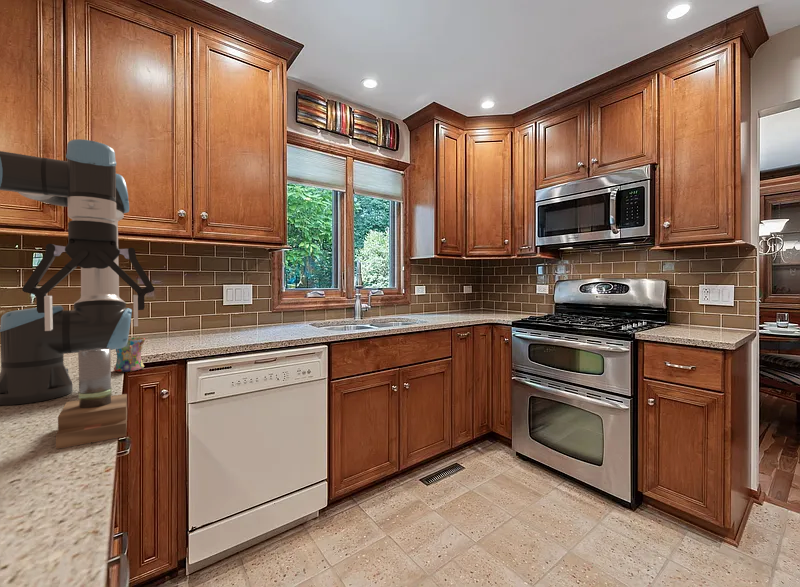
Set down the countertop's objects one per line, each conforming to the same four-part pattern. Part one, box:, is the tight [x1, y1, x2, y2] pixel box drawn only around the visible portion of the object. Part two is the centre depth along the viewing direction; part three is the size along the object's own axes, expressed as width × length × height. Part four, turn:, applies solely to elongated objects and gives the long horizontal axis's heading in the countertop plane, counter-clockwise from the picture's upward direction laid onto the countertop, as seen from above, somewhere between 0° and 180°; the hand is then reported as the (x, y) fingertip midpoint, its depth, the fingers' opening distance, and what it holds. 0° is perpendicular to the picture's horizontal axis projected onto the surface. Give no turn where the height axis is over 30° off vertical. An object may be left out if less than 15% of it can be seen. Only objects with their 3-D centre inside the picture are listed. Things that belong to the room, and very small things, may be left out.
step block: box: [55, 393, 128, 450], centre depth 75 cm, size 14×10×5 cm
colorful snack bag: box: [113, 337, 146, 373], centre depth 127 cm, size 12×9×11 cm
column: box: [77, 348, 113, 408], centre depth 76 cm, size 5×5×11 cm
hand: (94, 328), depth 76 cm, fingers open, 13 cm apart
